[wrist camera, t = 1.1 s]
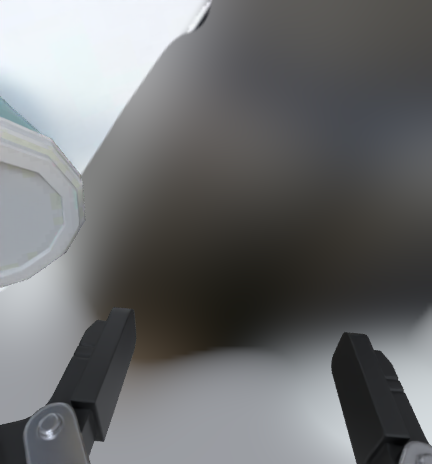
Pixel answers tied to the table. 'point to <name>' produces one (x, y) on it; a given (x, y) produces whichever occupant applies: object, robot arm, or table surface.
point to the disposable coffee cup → (34, 199)
